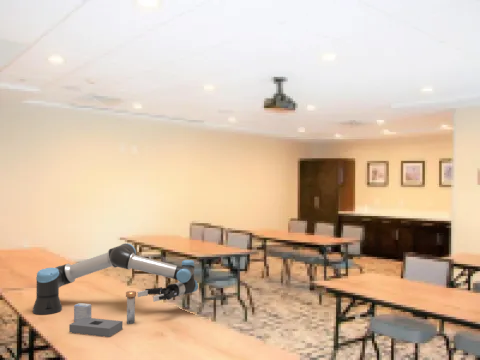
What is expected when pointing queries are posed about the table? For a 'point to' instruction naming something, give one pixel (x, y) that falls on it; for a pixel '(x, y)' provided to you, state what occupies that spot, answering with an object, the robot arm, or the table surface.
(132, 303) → the plug
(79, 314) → the medicine box
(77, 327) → the socket block
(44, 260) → the table surface
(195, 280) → the robot arm
